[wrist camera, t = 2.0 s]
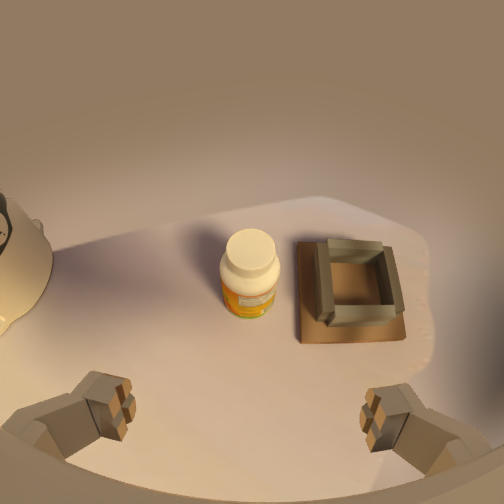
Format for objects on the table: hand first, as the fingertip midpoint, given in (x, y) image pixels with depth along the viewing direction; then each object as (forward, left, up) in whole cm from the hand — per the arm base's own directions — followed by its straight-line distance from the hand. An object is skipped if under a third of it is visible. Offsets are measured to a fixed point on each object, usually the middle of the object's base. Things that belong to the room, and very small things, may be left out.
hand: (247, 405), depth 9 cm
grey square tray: (+11, +14, -19) cm, 26 cm away
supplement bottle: (0, +13, -19) cm, 23 cm away
